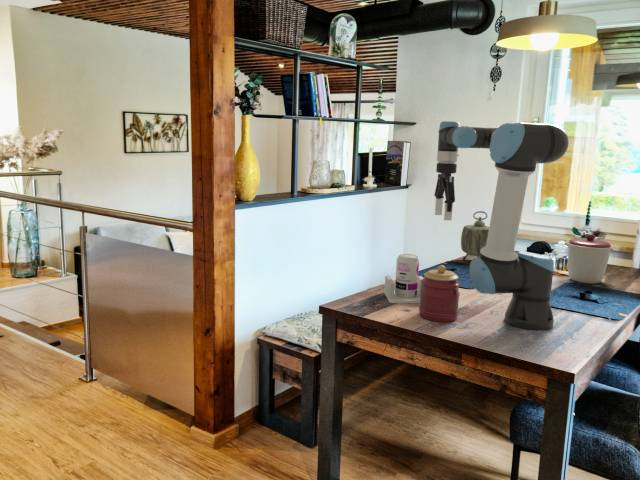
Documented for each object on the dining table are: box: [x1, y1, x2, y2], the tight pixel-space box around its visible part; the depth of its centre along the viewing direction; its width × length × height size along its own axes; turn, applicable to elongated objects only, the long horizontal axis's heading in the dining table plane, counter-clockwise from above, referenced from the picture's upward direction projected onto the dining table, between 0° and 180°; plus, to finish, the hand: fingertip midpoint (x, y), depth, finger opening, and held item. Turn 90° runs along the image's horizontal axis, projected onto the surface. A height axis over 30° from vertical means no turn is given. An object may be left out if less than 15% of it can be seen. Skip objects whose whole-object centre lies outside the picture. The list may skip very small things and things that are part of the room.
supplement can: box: [394, 253, 420, 298], centre depth 206 cm, size 8×8×15 cm
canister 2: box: [566, 232, 614, 285], centre depth 240 cm, size 18×18×21 cm
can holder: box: [383, 274, 425, 305], centre depth 207 cm, size 14×14×7 cm
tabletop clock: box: [460, 210, 489, 261], centre depth 272 cm, size 14×9×25 cm, turn 94°
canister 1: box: [418, 264, 461, 323], centre depth 186 cm, size 13×13×18 cm
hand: (442, 217), depth 217 cm, fingers open, 13 cm apart
